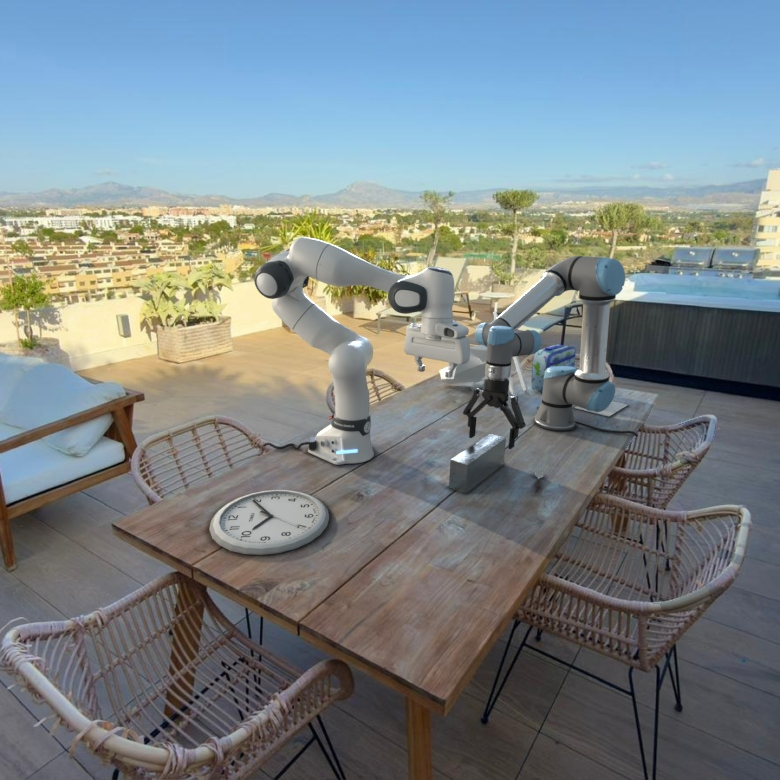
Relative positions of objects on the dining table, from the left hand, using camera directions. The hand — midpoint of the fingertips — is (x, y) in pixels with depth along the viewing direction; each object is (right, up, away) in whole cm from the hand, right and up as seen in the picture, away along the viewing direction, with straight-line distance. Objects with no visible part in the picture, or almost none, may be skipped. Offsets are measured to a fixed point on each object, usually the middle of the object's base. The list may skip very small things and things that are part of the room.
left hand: (434, 374), depth 151 cm
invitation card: (+79, -12, +75) cm, 110 cm away
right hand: (+19, -21, +14) cm, 32 cm away
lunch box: (+64, -4, +99) cm, 118 cm away
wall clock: (-44, -38, -16) cm, 60 cm away
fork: (+32, -33, +7) cm, 46 cm away
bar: (+14, -31, +11) cm, 36 cm away
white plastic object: (+29, -6, +92) cm, 97 cm away
